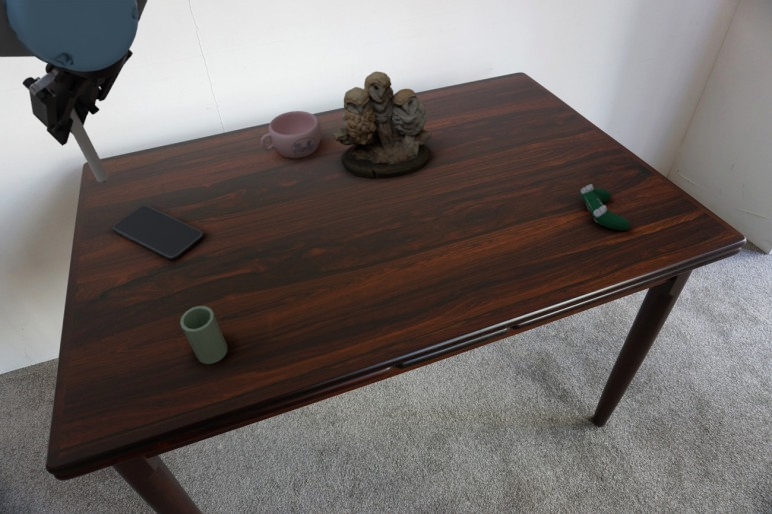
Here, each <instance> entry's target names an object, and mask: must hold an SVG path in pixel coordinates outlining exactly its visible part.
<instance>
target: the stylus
mask: <svg viewBox="0 0 772 514" xmlns="http://www.w3.org/2000/svg"><path fill="white" fill-rule="evenodd" d="M70 118H71V119H72V120H73V124H72V127H71V132H72V133H71V132H70V133H71V135H73V137H74V139H75V141H76V143H77V146H78V147H79V148H80V151H81V152H82V154H83V156H84V159H85V161H86V162H87V164H88V166H89V168H90V169H91V171H92V174H93V175H94V177H95V179H96V181H97V182H98V183H106V182H107V181H108V180H109V178H110V176H109V174H108V172H107V170H106V168H105V167H104V164H103V162H102V160H101V158H100V157H99V154H98V152H97V150H96V149H95V147H94V145H93V142H92V140H91V138H90V137H89V135H88V133H87V131H86V129H85V126H83V125H82V123H81V121H80V119H79V117H78V115H77V113H76V111H75V109H74V107H73V110H72V112H71V115H70Z"/></svg>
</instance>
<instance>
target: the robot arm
mask: <svg viewBox="0 0 772 514" xmlns="http://www.w3.org/2000/svg"><path fill="white" fill-rule="evenodd" d="M147 3H148V0H0V58H22V57H23V58H36V59H38V60H40V61H41V62H43V63H45V64H46V65H45V68H44V69H45V74H44V75H43V76H42V77H40V76H37V77H33V76H29V77H26V78H25V79H24V80H23V81H22V85H23V87H25V89H26V90H28V92H29V98H30V104H31V113H32V114H33V115H34V116H35V118H36V119H38V121H40V123H41V124H42V125H43V126H45V128H46V132H48V134H49V135H50V136H52V138H54V140H56V142H58V144H60V145H61V147H62V146H64V145H66V144H68V141H69V137H70V135H71V134H72V132H71V127H72V124H73V120H72V119H71V118H70V115H71V112H72V110H73V107H74V109H75V111H76V113H77V115H78V117H79V119H80V121H81V123H82V125H83V127H85V123H86V120H87V116H88V115H89V113H90V114H91V115H93V116H94V115H95V114H97V113H98V112H99V111H100V108H99V107H98V106H97V105H96V103H97V100H98V101H99V102H103V101H105V100H106V98H107V97H108V95H109V93H110V92H111V89H112V88H113V86H114V85H115V83H116V81H117V79H118V77H119V75H120V73H121V72H122V69H123V67H125V65H126V63H127V62H128V61H129V60H130V58H131V57H132V56H133V51H132V50H131V48H132V46H133V44H134V41H135V39H136V36H137V33H138V27H139V22H140V20H141V18H142V15H143V12H144V10H145V7H146V5H147Z"/></svg>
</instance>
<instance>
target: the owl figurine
mask: <svg viewBox="0 0 772 514" xmlns="http://www.w3.org/2000/svg"><path fill="white" fill-rule="evenodd" d="M363 86H364V88H362V87H358V86H354V87H353V88H351V89H350V88H349V90H347V91H345V94H344V97H343V107H344V108H343V111H344V112H343V113H342V114H341V118H342V119H343V124H342V126H343V127H341V128H339V129H336V132H333V133H332V135H333V137H334V140H335V141H336V142H339V143H340V144H342V145H344V146H350V147H348V148H346V149H345V150H344V152H343V153H342V155H341V158H340V161H341V164H342V166H343V168H344V169H345V170H346V171H347V172H348V173H350V174H351V175H354V176H356V177H357V176H358V177H362V178H373V177H375V178H377V179H385V178H394V177H400V176H404V175H407V174H410V173H413V172H415V171H418V170H419V169H421V168H422V167H424V166H425V164H426V163H428V162H429V161H430V157H431V151H430V148H429V147H428V145H426V144H425V142H426V141H428V140H430V139H431V138H432V136H433V133H432V131H429V130H425V126H426V123H427V116H426V114H427V113H426V109H425V107H426V106H425V102H423V101H422V100H421V99H420V98H418V96H417V94H416V92H415V91H414V90H413V89H411V88H401V89H399V90H397V92H394V89H393V88H392V81H391V77H390V76H389V75H388V74H387V73H386V72H382V71H373V72H371V73H370V74H369V75H367V76H366V77H365V79H364V83H363ZM373 172H374V173H375V174H374V173H373Z"/></svg>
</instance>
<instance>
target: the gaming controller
mask: <svg viewBox="0 0 772 514" xmlns="http://www.w3.org/2000/svg"><path fill="white" fill-rule="evenodd" d="M579 194H580V197H581V199H582V200H583V202H584V203H585V205H586V206H587V207H586V208H587V210H588V211H589V212H590V214H591V215H592V217H593V220H594V221H595V223H596V224H598V225H599V226H600V225H601V226H602V227H604V228H608V229H611V230H616V231H629V230H630V226H631V223H630V221H629V220H628V219H626V218H625V217H623V216H621V215H618V214H616V213H615V212H612V211H610V210H609V208H608V207H607V205H606V204H604V203H606V202H608V201H609V200H610V199H611V196H612V195H611V193H610V191H608V190H607V189H606V188H599V187H594V185H593V184H592V183H590V184H588V185H585V186H583V187H582V188H581V189H580V190H579Z"/></svg>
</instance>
